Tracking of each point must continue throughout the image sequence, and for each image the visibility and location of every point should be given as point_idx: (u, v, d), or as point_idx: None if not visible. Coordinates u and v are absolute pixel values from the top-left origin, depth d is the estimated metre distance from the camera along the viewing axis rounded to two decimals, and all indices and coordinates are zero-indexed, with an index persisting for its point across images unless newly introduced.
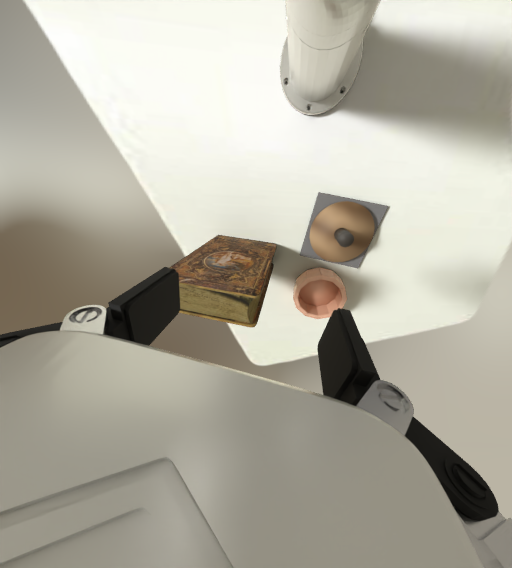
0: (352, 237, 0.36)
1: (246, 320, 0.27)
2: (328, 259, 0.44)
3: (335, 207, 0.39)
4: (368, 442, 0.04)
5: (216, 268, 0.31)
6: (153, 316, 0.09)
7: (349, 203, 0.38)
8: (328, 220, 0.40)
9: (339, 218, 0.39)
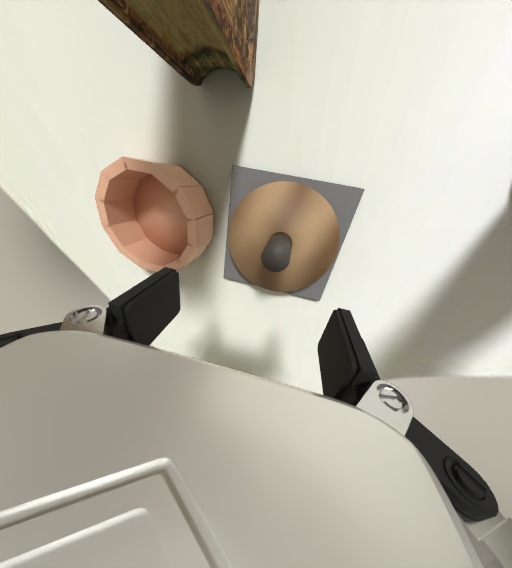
0: (280, 268, 0.18)
1: None
2: (231, 228, 0.23)
3: (331, 226, 0.20)
4: (368, 442, 0.04)
5: None
6: (153, 316, 0.09)
7: (335, 249, 0.21)
8: (307, 217, 0.20)
9: (309, 236, 0.21)
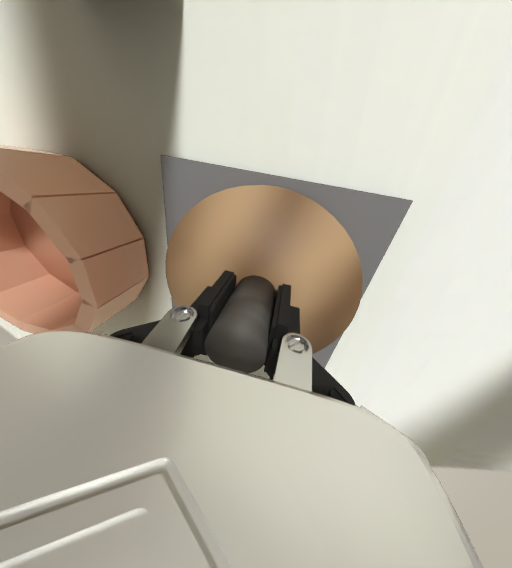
0: (248, 369, 0.09)
1: None
2: (170, 267, 0.13)
3: (347, 269, 0.11)
4: (368, 442, 0.04)
5: None
6: None
7: (352, 307, 0.12)
8: (302, 252, 0.11)
9: (306, 285, 0.12)
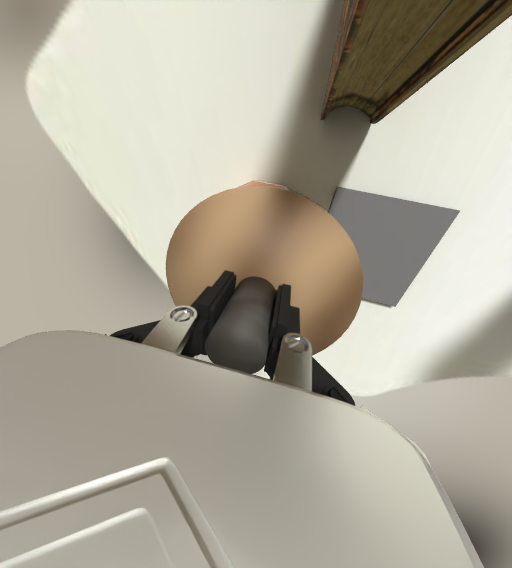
0: (248, 370, 0.09)
1: None
2: (170, 268, 0.13)
3: (347, 271, 0.11)
4: (368, 442, 0.04)
5: None
6: None
7: (352, 308, 0.12)
8: (302, 253, 0.11)
9: (307, 286, 0.12)
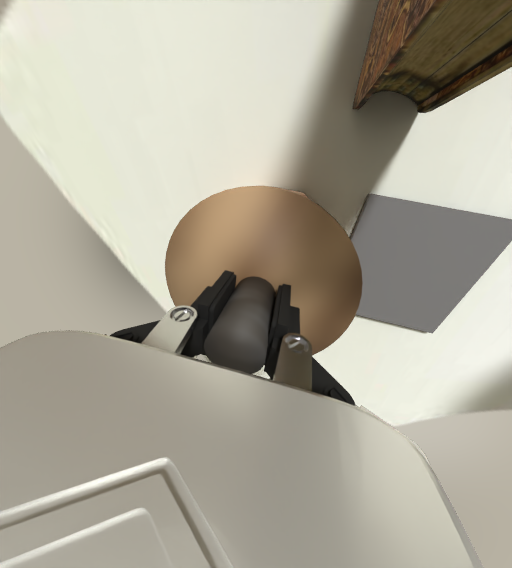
0: (247, 371, 0.09)
1: None
2: (170, 268, 0.13)
3: (347, 271, 0.11)
4: (368, 442, 0.04)
5: None
6: None
7: (352, 308, 0.12)
8: (302, 253, 0.11)
9: (306, 286, 0.12)
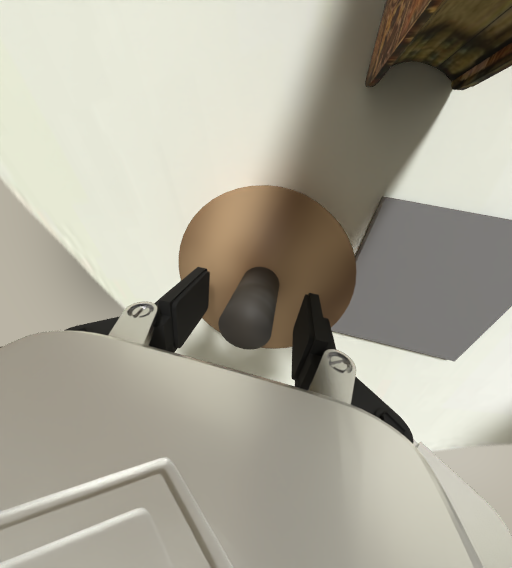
0: (255, 345, 0.10)
1: None
2: (183, 260, 0.14)
3: (342, 260, 0.12)
4: (368, 442, 0.04)
5: None
6: (190, 312, 0.10)
7: (347, 295, 0.13)
8: (302, 245, 0.12)
9: (306, 275, 0.13)
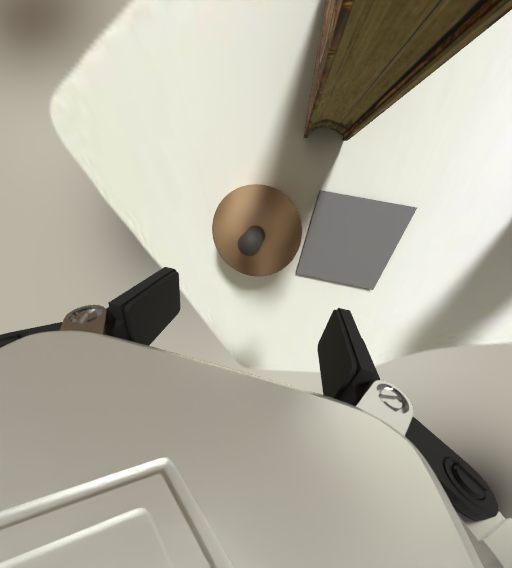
0: (253, 253, 0.23)
1: None
2: (215, 224, 0.27)
3: (294, 220, 0.25)
4: (368, 442, 0.04)
5: None
6: (153, 316, 0.09)
7: (298, 238, 0.26)
8: (275, 212, 0.25)
9: (278, 228, 0.26)
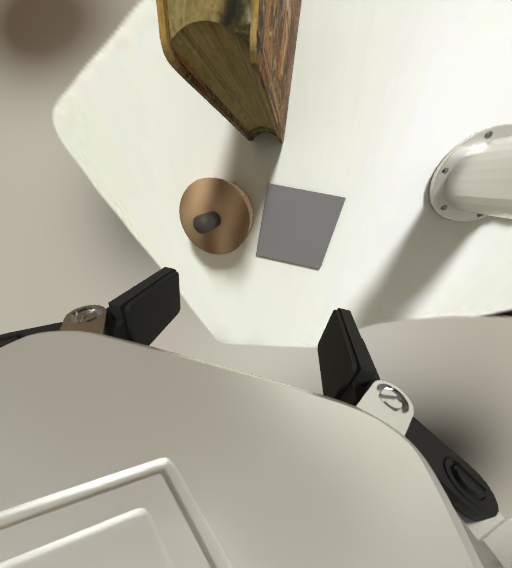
0: (205, 231, 0.30)
1: (175, 22, 0.10)
2: (181, 210, 0.34)
3: (242, 206, 0.32)
4: (368, 442, 0.04)
5: None
6: (153, 316, 0.09)
7: (247, 222, 0.33)
8: (226, 200, 0.32)
9: (230, 214, 0.33)
